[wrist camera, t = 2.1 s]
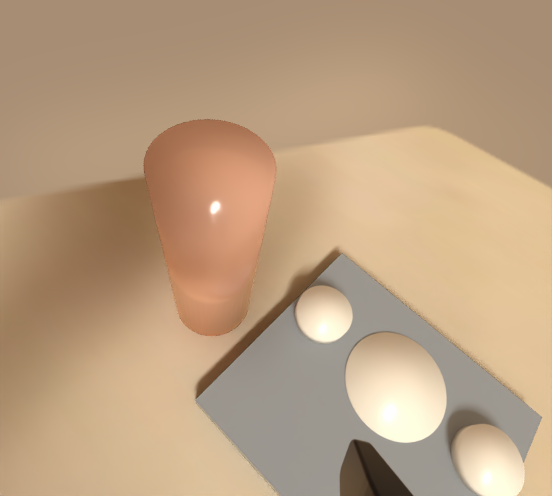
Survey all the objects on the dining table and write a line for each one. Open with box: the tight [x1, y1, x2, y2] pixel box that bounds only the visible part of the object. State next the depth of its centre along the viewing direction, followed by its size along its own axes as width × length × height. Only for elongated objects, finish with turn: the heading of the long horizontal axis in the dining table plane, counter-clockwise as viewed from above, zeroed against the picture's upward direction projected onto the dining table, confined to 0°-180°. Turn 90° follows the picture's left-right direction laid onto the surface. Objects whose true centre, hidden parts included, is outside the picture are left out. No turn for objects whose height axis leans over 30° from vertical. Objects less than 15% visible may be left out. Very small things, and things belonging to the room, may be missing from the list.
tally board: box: [195, 253, 542, 496], centre depth 21 cm, size 14×16×2 cm
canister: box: [144, 119, 276, 336], centre depth 19 cm, size 5×5×13 cm
